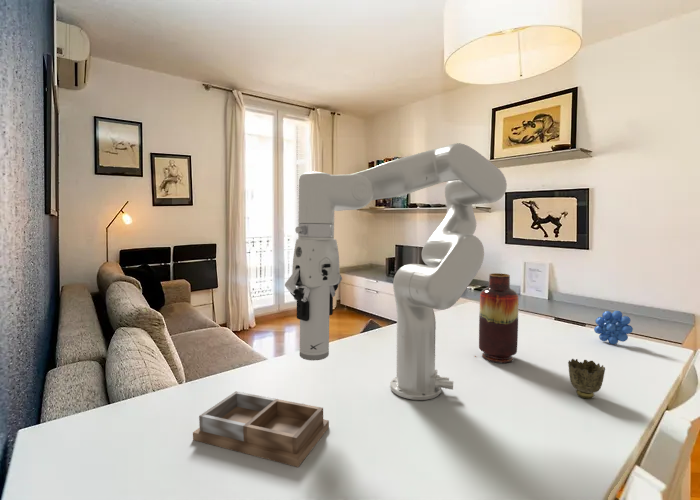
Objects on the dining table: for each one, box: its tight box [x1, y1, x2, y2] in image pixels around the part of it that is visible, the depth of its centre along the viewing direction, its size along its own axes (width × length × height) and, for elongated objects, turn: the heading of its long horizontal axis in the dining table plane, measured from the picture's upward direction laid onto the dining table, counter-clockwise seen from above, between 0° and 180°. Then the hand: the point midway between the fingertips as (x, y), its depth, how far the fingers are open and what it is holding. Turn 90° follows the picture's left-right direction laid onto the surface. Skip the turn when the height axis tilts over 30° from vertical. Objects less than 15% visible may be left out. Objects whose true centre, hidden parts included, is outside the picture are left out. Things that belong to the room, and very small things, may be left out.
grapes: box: [594, 310, 634, 345], centre depth 125 cm, size 12×7×12 cm, turn 28°
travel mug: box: [299, 264, 331, 361], centre depth 77 cm, size 6×7×20 cm
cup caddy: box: [192, 391, 330, 468], centre depth 72 cm, size 23×13×4 cm, turn 70°
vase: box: [478, 272, 520, 364], centre depth 112 cm, size 11×11×26 cm
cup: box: [567, 358, 606, 400], centre depth 87 cm, size 8×7×8 cm
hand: (315, 316), depth 77 cm, fingers closed on travel mug, 6 cm apart
